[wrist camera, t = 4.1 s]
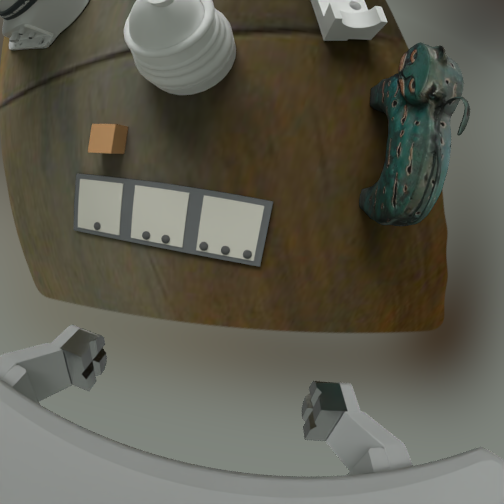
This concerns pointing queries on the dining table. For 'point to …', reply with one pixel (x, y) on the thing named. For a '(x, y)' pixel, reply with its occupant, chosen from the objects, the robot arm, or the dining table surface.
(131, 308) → the dining table surface
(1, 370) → the robot arm
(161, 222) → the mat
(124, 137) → the block
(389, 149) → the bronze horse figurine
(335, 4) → the bracket
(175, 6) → the honey pot
